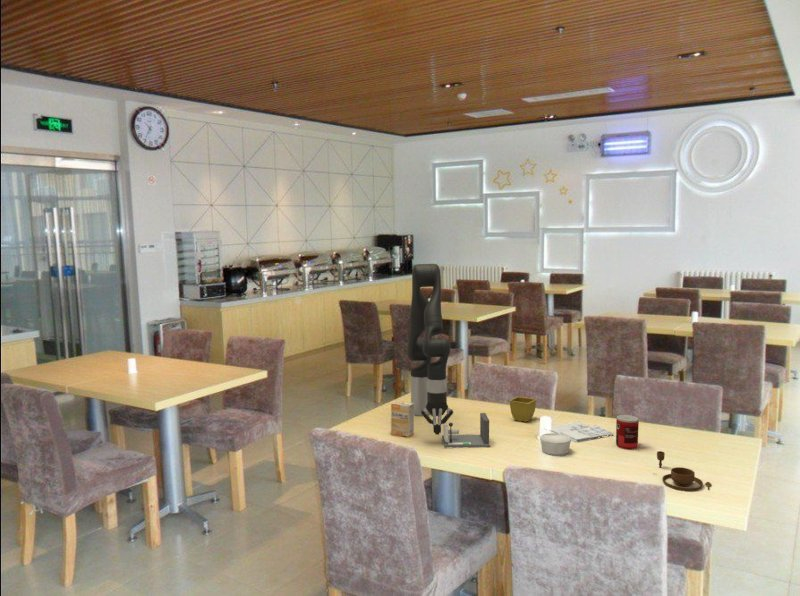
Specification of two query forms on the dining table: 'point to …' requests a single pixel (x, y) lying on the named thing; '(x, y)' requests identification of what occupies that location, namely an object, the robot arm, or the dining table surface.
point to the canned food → (627, 431)
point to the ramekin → (555, 443)
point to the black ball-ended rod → (450, 430)
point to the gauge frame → (472, 436)
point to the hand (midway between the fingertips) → (437, 433)
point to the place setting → (681, 476)
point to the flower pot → (522, 408)
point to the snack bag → (580, 431)
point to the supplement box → (402, 418)
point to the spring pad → (448, 432)
